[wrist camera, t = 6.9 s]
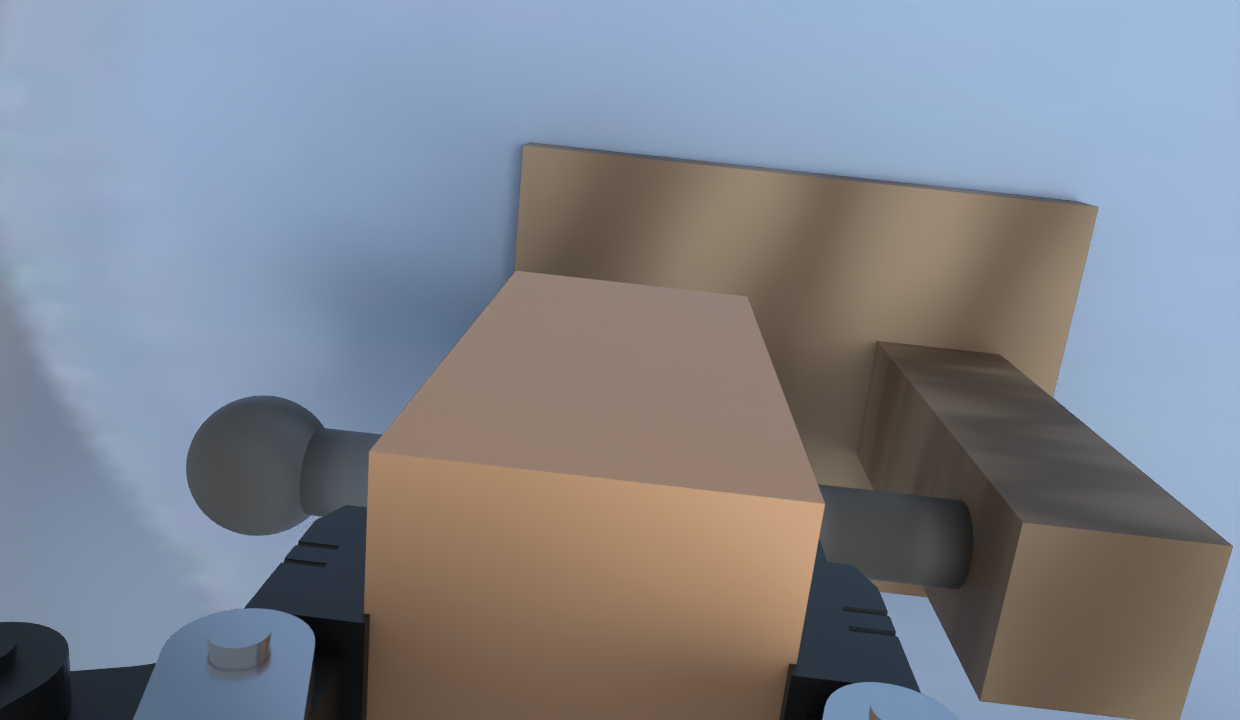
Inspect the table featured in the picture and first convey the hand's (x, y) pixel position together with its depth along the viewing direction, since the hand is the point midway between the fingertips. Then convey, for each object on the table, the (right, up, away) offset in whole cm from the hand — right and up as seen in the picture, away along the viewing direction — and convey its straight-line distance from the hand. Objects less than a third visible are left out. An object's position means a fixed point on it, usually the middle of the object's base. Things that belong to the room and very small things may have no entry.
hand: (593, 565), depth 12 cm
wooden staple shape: (0, -2, +6) cm, 6 cm away
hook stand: (+3, +2, +21) cm, 21 cm away
